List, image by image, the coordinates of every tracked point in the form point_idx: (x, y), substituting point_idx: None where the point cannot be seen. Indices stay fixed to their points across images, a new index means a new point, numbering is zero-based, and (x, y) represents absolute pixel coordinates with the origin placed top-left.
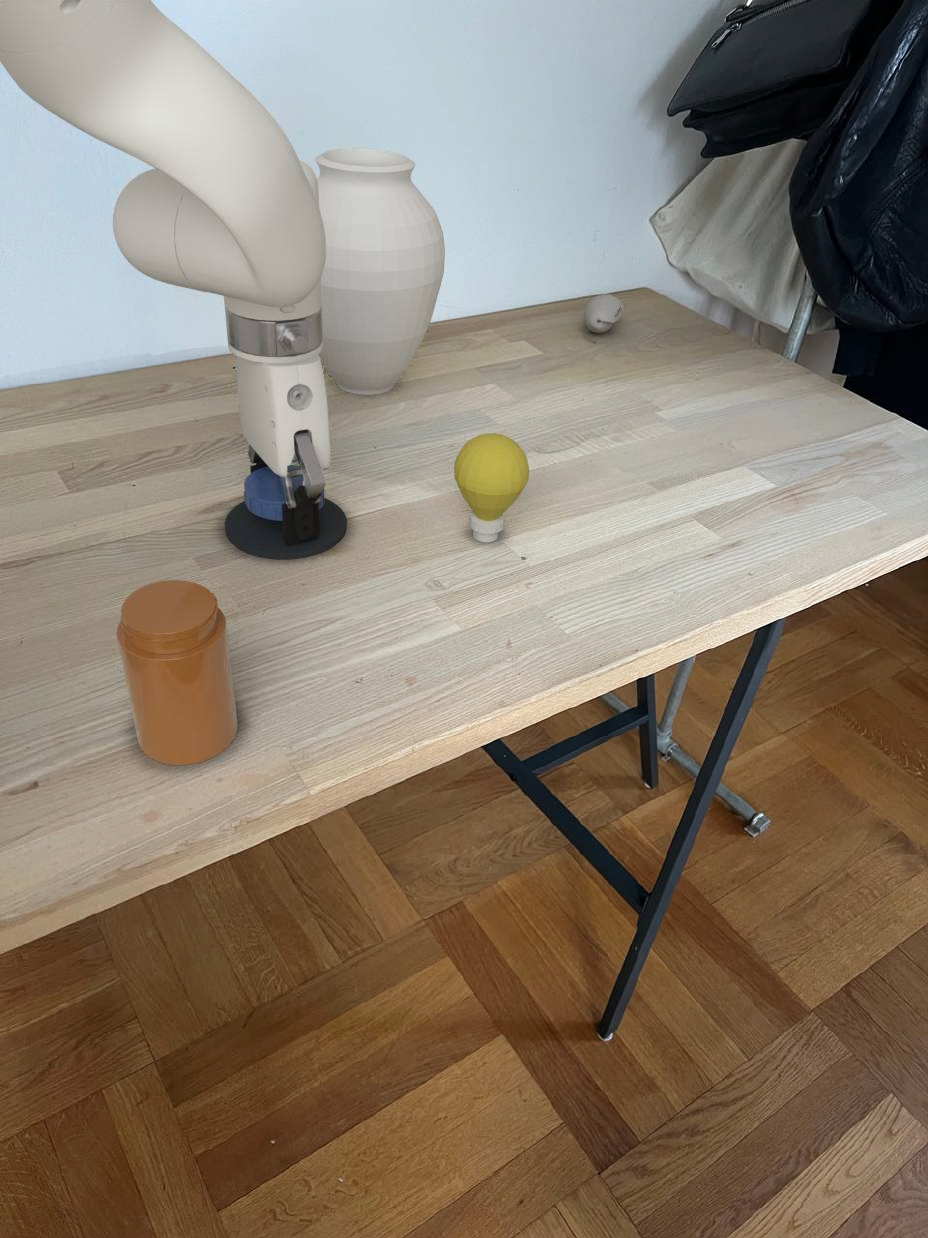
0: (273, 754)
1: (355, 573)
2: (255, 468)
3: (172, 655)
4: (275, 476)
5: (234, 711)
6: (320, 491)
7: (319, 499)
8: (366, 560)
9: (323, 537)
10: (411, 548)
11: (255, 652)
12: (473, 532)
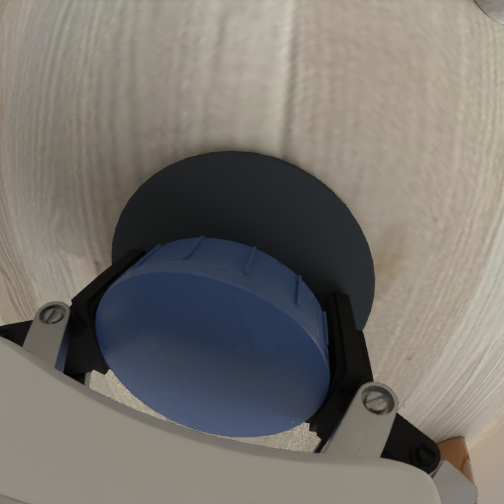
0: (489, 424)
1: (458, 281)
2: (104, 366)
3: None
4: (156, 372)
5: (467, 452)
6: (452, 469)
7: (395, 400)
8: (450, 237)
9: (347, 279)
10: (476, 128)
11: (433, 421)
12: (490, 12)
